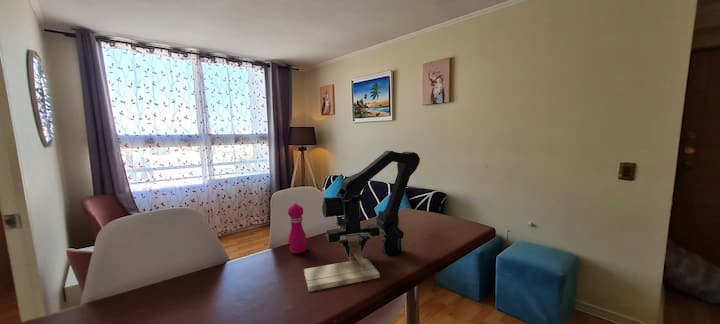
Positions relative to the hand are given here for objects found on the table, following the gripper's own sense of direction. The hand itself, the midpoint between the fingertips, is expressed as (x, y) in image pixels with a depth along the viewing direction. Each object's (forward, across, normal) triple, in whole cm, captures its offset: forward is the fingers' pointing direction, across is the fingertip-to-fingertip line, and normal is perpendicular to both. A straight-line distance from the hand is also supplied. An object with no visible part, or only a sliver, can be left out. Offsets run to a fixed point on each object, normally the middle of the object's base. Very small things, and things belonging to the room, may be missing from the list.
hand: (353, 255), depth 103 cm
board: (+1, +7, +10) cm, 12 cm away
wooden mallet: (+1, 0, +5) cm, 5 cm away
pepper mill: (+2, +18, -17) cm, 25 cm away
